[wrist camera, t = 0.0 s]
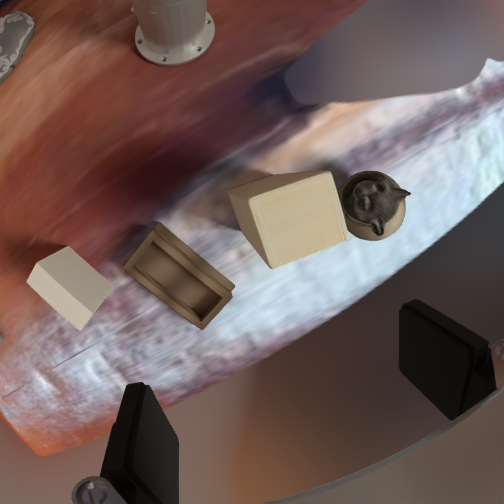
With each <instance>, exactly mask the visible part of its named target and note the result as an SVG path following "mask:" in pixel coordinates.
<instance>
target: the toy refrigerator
mask: <svg viewBox="0 0 504 504" xmlns="http://www.w3.org/2000/svg"><path fill="white" fill-rule="evenodd" d="M227 193H228V196H229V198H230V201H231V204H232V207H233V210H234V213H235V215H236V218H237V221H238V224H239V227H240V230H241V232H242V233H243V234H244V236H245V237H246V238H247V240H248V241H249V242H250V244H251V245H252V246H253V247H254V249H255V250H256V251H257V252H258V254H259V255H260V256H261V258H262V259H263V260H264V262H265V263H266V264H267V265H268V267H269V268H270V269H275V268H278V267H281V266H283V265H286V264H288V263H291V262H294V261H296V260H299V259H301V258H304V257H307V256H309V255H312V254H314V253H317V252H319V251H322V250H324V249H327V248H329V247H332V246H334V245H337V244H339V243H342V242H344V241H347V240H348V239H349V235H348V231H347V227H346V223H345V219H344V215H343V211H342V208H341V204H340V201H339V197H338V193H337V190H336V187H335V183H334V180H333V177H332V174H331V172H330V171H313V172H300V173H288V174H277V175H272V176H269V177H266V178H263V179H260V180H257V181H254V182H251V183H248V184H245V185H243V186H240V187H237V188H234V189H231V190H229V191H227Z"/></svg>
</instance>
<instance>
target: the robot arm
mask: <svg viewBox="0 0 504 504" xmlns="http://www.w3.org/2000/svg"><path fill="white" fill-rule="evenodd" d="M131 3H132V6H133V7H132V8H131V12H133V13H135V14H136V17H137V20H138V23H139V24H138V26H137V29H136V32H135V43H136V46H137V49H138V51H139V53H140V54H141V55H142V56H143V57H144V58H145V59H147V60H148V61H150V62H152V63H154V64H158V65H162V66H177V65H181V64H185V63H188V62H191V61H193V60H194V59H196V58H198V57H199V56H201V55H202V54H203V53H204V52H205V51H206V50H207V49H208V48H209V46H210V45H211V43H212V41H213V38H214V33H215V25H214V21H213V19H212V17H211V15H210V14H209V13H208V12H207V11H206V4H207V0H131ZM207 23H209V24H207ZM140 43H141V44H140ZM198 50H201V51H198ZM164 60H166V61H165V62H163V61H164ZM488 344H489V341H487V340H486V339H484V338H482V337H481V336H479V335H477V334H475V333H474V332H472V331H471V330H469V329H467V328H466V327H464V326H462V325H461V324H459V323H457V322H456V321H454V320H452V319H451V318H449V317H447V316H446V315H444V314H442V313H440V312H439V311H437V310H435V309H434V308H432V307H430V306H428V305H427V304H425V303H423V302H421V301H420V300H418V299H414V300H411V301H409V302H407V303H405V304H403V305H402V309H400V311H399V369H400V371H401V373H402V374H403V375H404V376H405V377H406V378H407V379H408V380H409V381H410V382H411V383H412V384H413V385H414V386H415V387H416V388H418V389H419V390H420V391H421V392H422V393H423V394H424V395H425V396H426V397H427V398H428V399H429V400H430V401H431V402H432V403H433V404H434V405H435V406H436V407H437V408H438V409H439V410H440V411H441V412H442V413H443V414H444V415H445V416H446V417H447V418H448V419H449V420H451V421H452V422H450V423H448V424H447V425H445V426H444V427H442V428H440V429H439V430H437V431H436V432H434V433H432V434H431V435H429V436H427V437H426V438H424V439H422V440H420V441H419V442H417V443H415V444H413V445H412V446H410V447H408V448H406V449H404V450H402V451H400V452H398V453H396V454H395V455H393V456H391V457H389V458H387V459H384V460H383V461H380V462H378V463H376V464H374V465H372V466H370V467H367V468H365V469H363V470H360V471H358V472H356V473H354V474H351V475H349V476H346V477H344V478H342V479H339V480H336V481H333V482H331V483H328V484H325V485H322V486H319V487H316V488H314V489H310V490H307V491H305V492H301V493H298V494H295V495H291V496H288V497H284V498H281V499H277V500H273V501H269V502H265V503H261V504H504V340H500V341H498V342H496V343H495V344H494V345H493V346H492V348H491V349H490V348H488ZM178 476H179V441H178V437H177V435H176V433H175V432H174V430H173V428H172V426H171V425H170V423H169V421H168V420H167V417H166V416H165V414H164V412H163V410H162V408H161V406H160V404H159V403H158V401H157V399H156V397H155V395H154V393H153V391H152V389H151V387H150V386H149V385H145V384H144V383H143V382H138V383H133V384H128V385H127V386H126V388H125V391H124V395H123V398H122V402H121V405H120V408H119V412H118V416H117V419H116V422H115V423H114V424H113V426H112V430H111V434H110V437H109V441H108V445H107V449H106V453H105V457H104V461H103V465H102V469H101V473H100V476H92V477H87V478H85V479H83V480H81V481H80V482H79V483H77V484H76V486H75V487H74V489H73V492H72V502H73V504H179V477H178Z"/></svg>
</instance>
